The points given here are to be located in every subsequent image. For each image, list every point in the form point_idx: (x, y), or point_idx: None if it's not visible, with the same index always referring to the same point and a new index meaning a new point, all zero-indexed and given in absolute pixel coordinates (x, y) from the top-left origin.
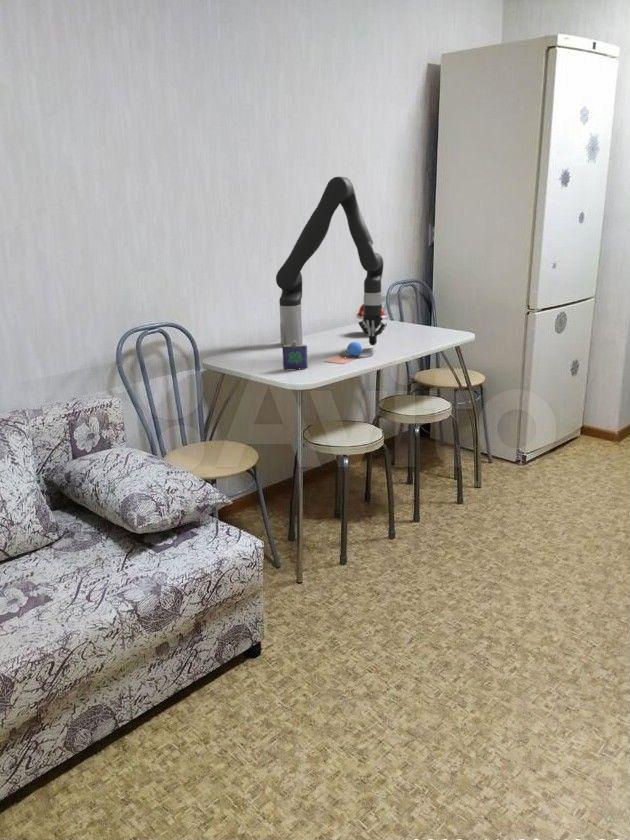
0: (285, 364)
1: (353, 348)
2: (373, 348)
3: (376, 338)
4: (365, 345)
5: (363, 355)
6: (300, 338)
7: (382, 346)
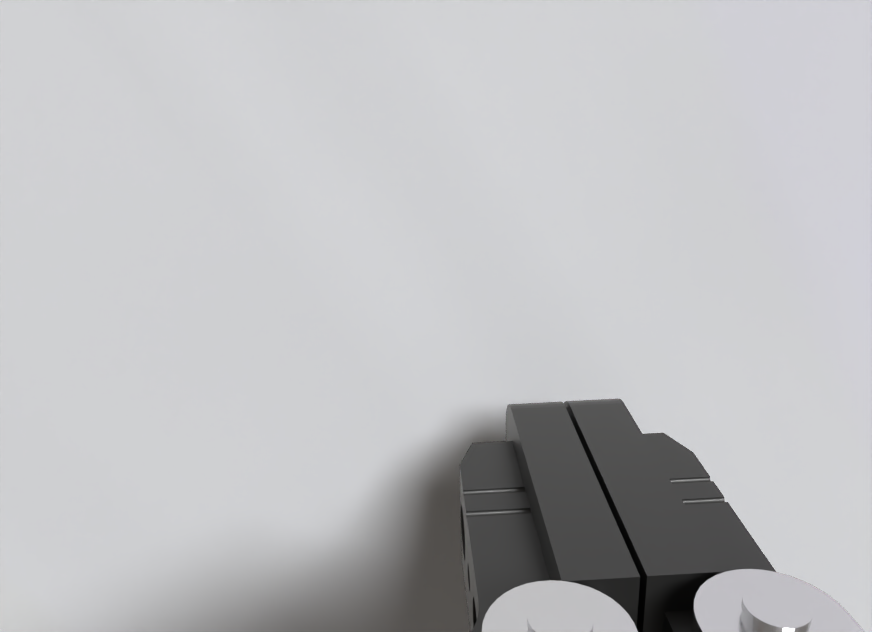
0: None
1: None
2: None
3: (750, 546)
4: (129, 205)
5: None
6: None
7: (672, 61)
